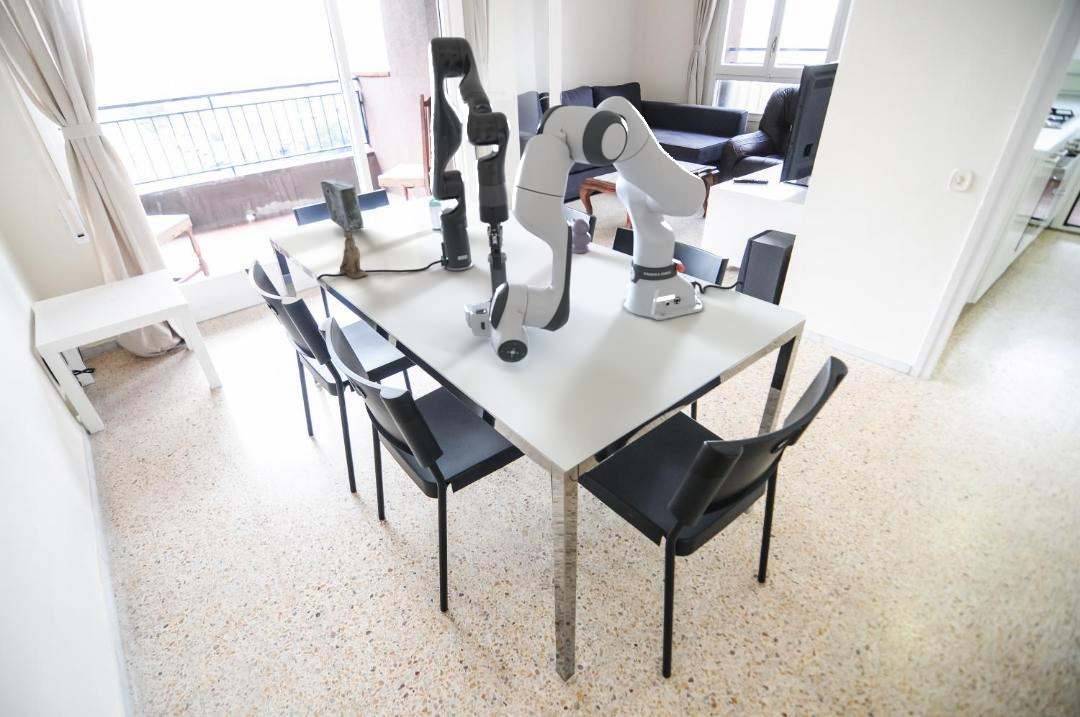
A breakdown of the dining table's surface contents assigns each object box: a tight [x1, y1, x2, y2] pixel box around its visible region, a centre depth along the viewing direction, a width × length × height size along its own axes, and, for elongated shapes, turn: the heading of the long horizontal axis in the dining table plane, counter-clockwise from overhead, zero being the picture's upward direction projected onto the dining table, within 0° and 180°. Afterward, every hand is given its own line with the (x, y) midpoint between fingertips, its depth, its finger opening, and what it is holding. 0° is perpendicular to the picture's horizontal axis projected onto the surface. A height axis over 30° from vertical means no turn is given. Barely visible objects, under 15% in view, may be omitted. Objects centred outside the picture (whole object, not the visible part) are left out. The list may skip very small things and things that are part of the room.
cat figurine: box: [570, 218, 592, 254], centre depth 188 cm, size 8×8×12 cm
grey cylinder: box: [489, 261, 508, 296], centre depth 137 cm, size 4×4×19 cm
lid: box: [487, 251, 508, 264], centre depth 132 cm, size 5×5×2 cm
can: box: [426, 198, 445, 230], centre depth 220 cm, size 7×7×12 cm
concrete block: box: [320, 178, 365, 232], centre depth 221 cm, size 27×9×20 cm, turn 36°
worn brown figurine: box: [339, 230, 367, 280], centre depth 174 cm, size 12×6×18 cm, turn 43°
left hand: (497, 265), depth 133 cm, fingers closed on lid, 4 cm apart
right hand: (499, 299), depth 139 cm, fingers closed on grey cylinder, 4 cm apart
